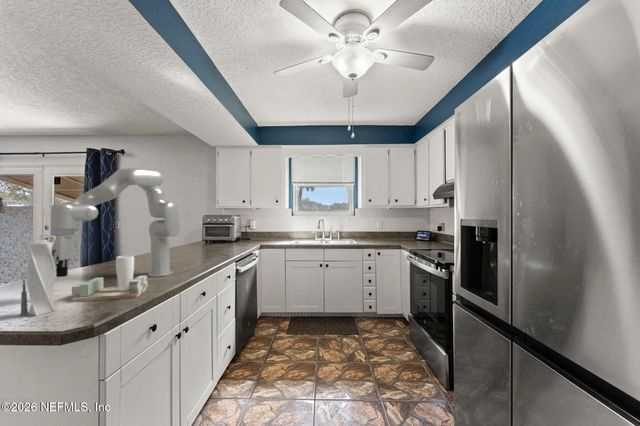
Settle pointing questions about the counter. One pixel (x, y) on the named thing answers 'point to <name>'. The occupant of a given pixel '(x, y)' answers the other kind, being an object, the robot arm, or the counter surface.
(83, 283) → the sliding jaw
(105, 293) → the vise
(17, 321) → the counter surface
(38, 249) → the skyscraper
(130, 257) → the drinking glass
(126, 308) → the counter surface
